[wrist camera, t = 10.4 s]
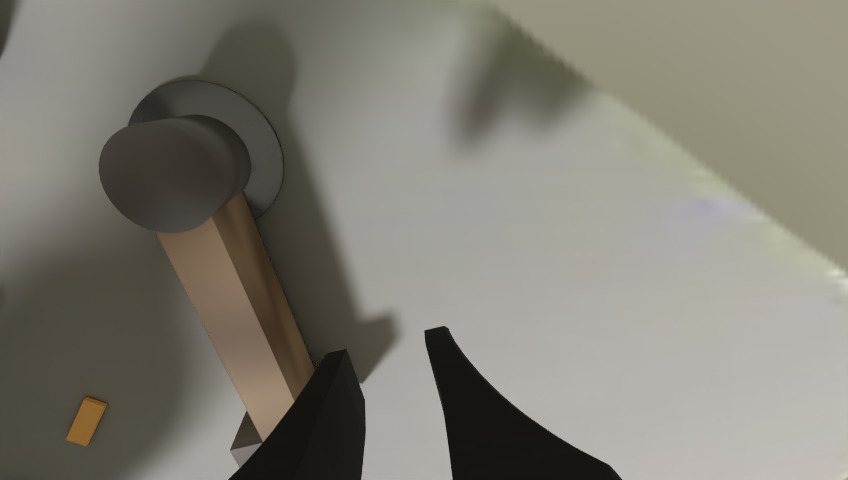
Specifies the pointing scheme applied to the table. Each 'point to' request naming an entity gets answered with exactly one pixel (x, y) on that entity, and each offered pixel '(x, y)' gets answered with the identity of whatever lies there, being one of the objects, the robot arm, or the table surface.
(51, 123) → the table surface
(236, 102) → the crank base
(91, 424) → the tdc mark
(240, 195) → the crank
